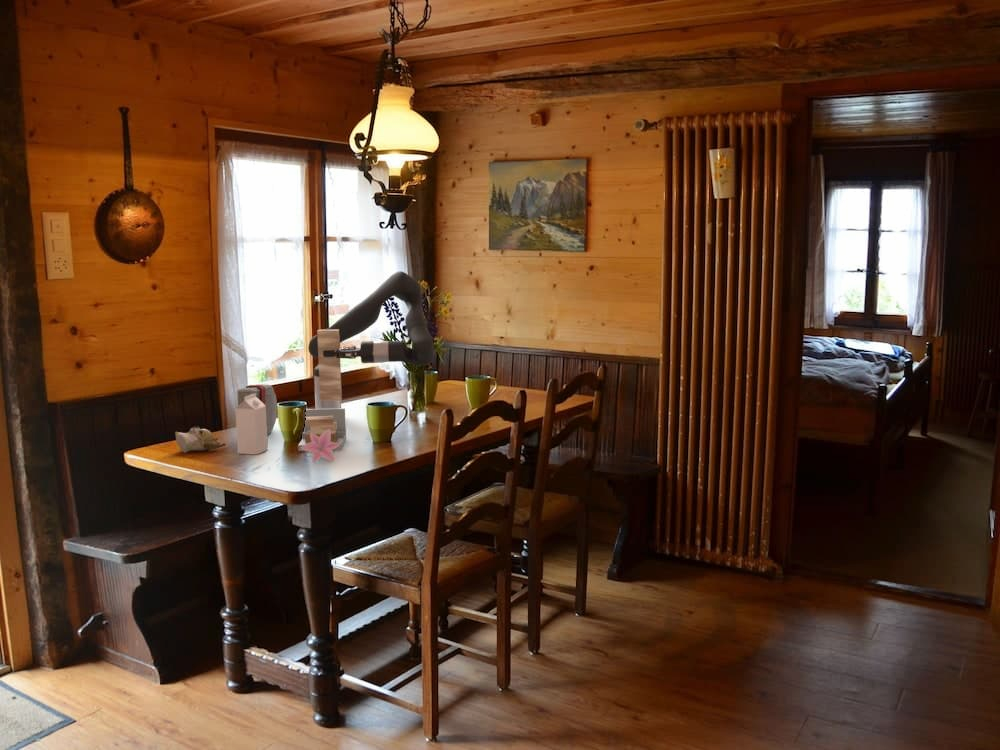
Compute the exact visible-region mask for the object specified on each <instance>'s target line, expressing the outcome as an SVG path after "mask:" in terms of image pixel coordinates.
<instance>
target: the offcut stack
mask: <svg viewBox="0 0 1000 750" xmlns="http://www.w3.org/2000/svg"><path fill="white" fill-rule="evenodd" d="M306 426H310V431H307V432H306V434H305V443H310V442H312V441H311V438H310V433H313V434H315V435H317V436H318V437H320V435H321V434H322V433H324V432H325V431H326V430H328V429H330V432H331V440H330V442H334V443H336V441H337V439H338V433H337V423H336V422H334V421H333V416H314V417H306Z"/></svg>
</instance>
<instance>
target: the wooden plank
mask: <svg viewBox="0 0 1000 750" xmlns="http://www.w3.org/2000/svg"><path fill="white" fill-rule="evenodd" d="M316 333H317V334H316V335H318V358H317V359H318V364H319V382H320V401H332V400H341V401H342V400H343V396H342V393H343V392H342V369H341V368H342V367H341V358H336V357H324V356H323V351H324V350H336V349H337V350H340V347H341V343H340V340H339V329H338V330H326V329H317V332H316ZM339 353H340V352H339Z"/></svg>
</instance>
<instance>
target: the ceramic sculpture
mask: <svg viewBox="0 0 1000 750" xmlns="http://www.w3.org/2000/svg"><path fill="white" fill-rule="evenodd" d="M174 434H175V440H176V444H177V445H178V447H179V450H180V452H181V453H183V452H184V453H183V454H185V453H186V454H187V453H188V452H190V451H196V452H197V451H198V452H201V451H202V452H203V451H207V450H216V449H220V448H222V447H223V446H226V443H221V442H219V438H218V437H216V438H214V437H213V434H212V432H211V431H210V430H208V429H206V428H200V426H199V425H196V426H193V427H191V428H190V429H189V431H188V432H181V431H180V432H178V431H175V433H174Z"/></svg>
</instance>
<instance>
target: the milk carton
mask: <svg viewBox="0 0 1000 750" xmlns="http://www.w3.org/2000/svg"><path fill="white" fill-rule="evenodd" d="M235 425H236V426H235V427H236V443H237V446H236V447H237V454H243V455H260V454H261V453H263V452H266V451H268V450H269V447H268V435H267V422H266V406H265V405H264V404H263V403H262V402H261V401H260V400H259V399H258V398H257V397H256V393H255V394H252V395H249V396H246V397H244V401H243V402H242V403H241V404H240V405H239V406H238V405H237V407H235Z"/></svg>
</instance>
